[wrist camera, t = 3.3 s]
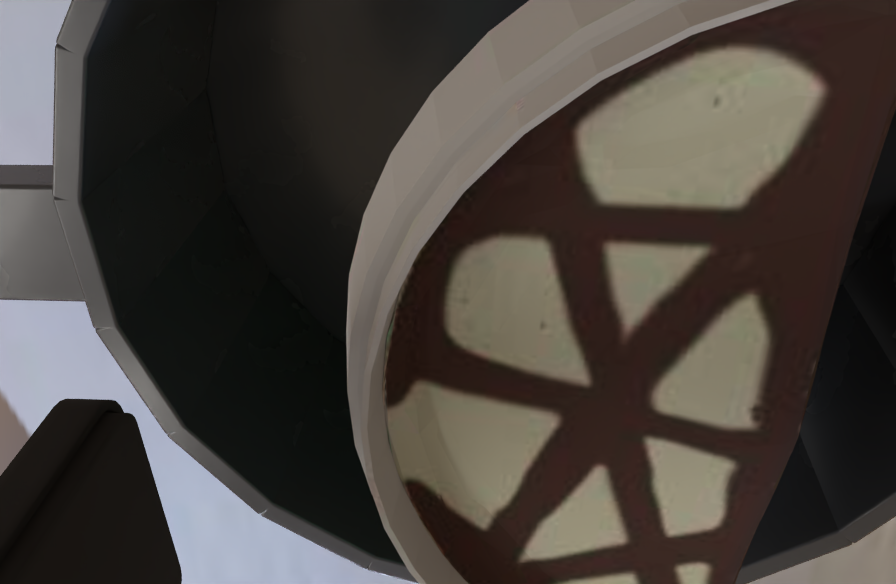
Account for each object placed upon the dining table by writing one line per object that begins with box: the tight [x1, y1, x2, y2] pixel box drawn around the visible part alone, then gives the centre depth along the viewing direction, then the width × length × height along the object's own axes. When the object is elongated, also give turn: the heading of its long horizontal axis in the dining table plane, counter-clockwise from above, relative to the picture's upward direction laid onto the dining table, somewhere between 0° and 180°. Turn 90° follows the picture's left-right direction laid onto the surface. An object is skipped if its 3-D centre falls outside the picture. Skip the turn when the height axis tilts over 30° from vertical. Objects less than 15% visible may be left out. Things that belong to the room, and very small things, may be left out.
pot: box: [0, 0, 896, 584], centre depth 16 cm, size 17×22×6 cm
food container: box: [346, 0, 896, 584], centre depth 14 cm, size 12×6×10 cm, turn 178°
